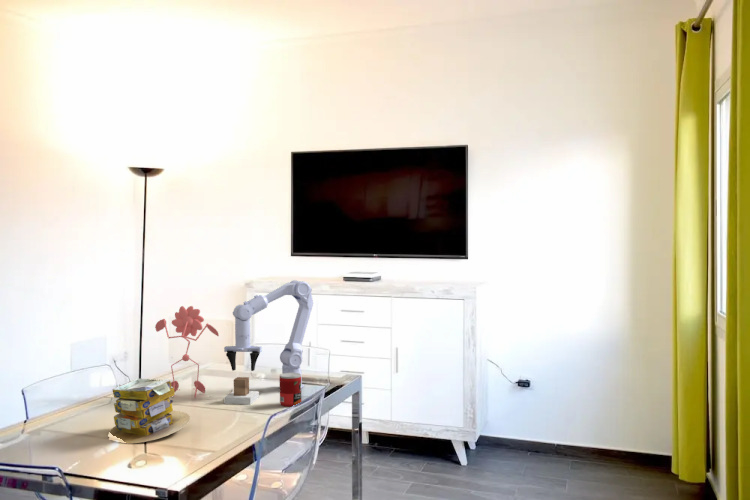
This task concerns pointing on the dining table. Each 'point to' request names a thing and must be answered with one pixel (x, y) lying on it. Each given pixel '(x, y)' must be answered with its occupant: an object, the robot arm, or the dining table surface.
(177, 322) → the figurine
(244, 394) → the walnut block
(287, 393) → the canned food
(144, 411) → the stacked yellow food packages
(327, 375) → the dining table surface
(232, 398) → the grey plinth
